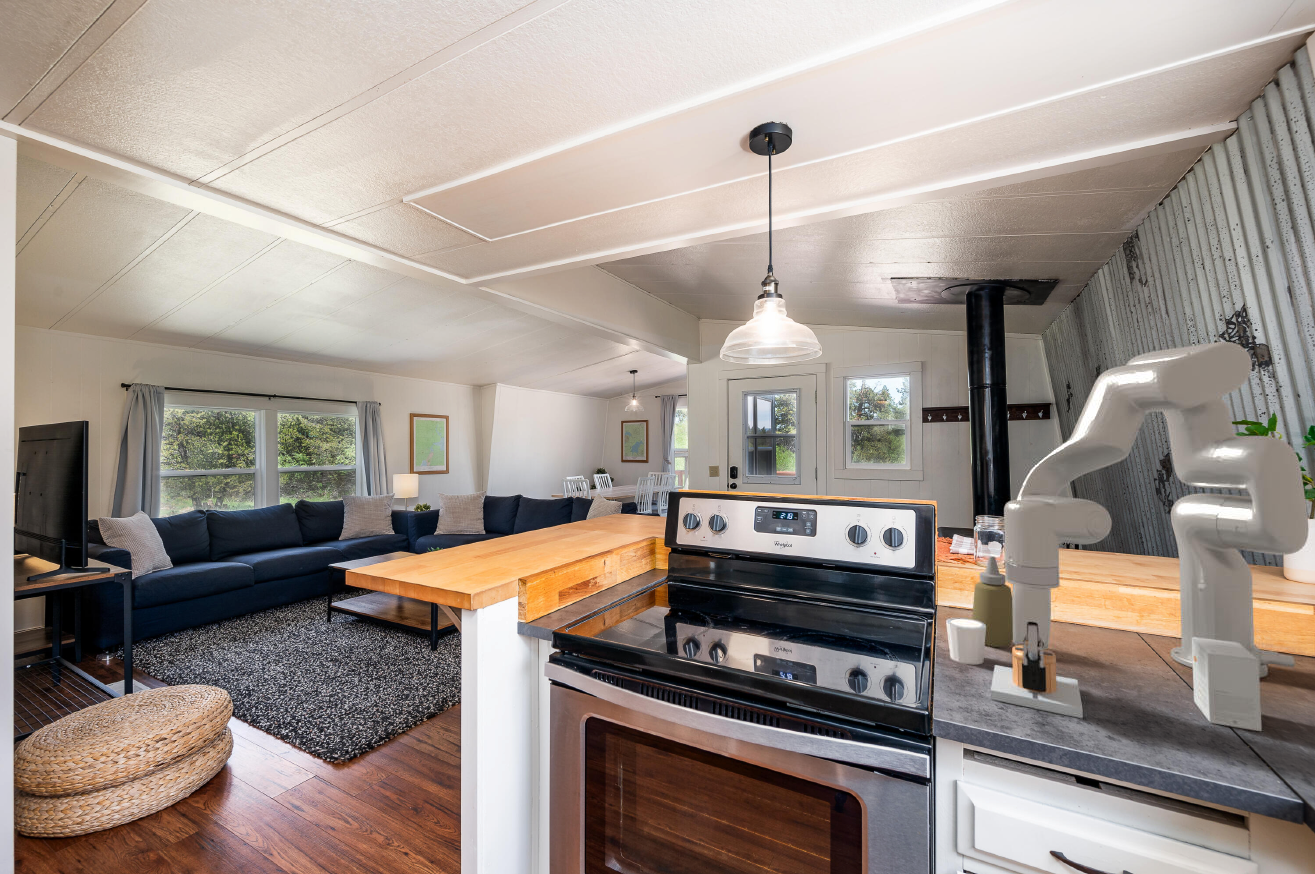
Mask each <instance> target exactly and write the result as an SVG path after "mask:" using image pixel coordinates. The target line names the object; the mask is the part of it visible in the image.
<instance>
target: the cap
mask: <svg viewBox="0 0 1315 874" xmlns="http://www.w3.org/2000/svg"><path fill="white" fill-rule="evenodd" d="M1011 650H1012V651H1011V654H1012V656H1011V657H1012V660H1011V661H1012V668H1013V683H1014V684H1016V685H1017V686H1019V687H1020V688H1023V686H1022V663H1023V644H1018V645H1015V646H1013V647H1012V649H1011ZM1027 652H1028V649H1027ZM1038 654H1039V655H1040V651H1038ZM1043 655H1044V667H1046V692H1039V691H1034V690H1029V689H1026V690H1029V691H1033V692H1038V693H1052V692H1055V691H1057V687H1056V676H1057V662H1056V661H1057V660H1056V653H1054V652H1053V651H1051V650H1049V649H1048V648H1047V649H1045V650H1044V651H1043ZM1027 664H1028V663H1027ZM1023 689H1025V688H1023Z"/></svg>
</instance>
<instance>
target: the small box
mask: <svg viewBox="0 0 1315 874" xmlns="http://www.w3.org/2000/svg"><path fill="white" fill-rule="evenodd" d="M1192 660H1193V668H1192V675H1193V676H1192V677H1193V678H1192V680H1193V681H1192V683H1193V702H1194V704H1196V705H1197V707H1198V708H1199V710H1200V711H1201V712H1202V714H1203V715H1204V716H1205V718H1206V719H1207V720H1208V722H1209V723H1210V724H1216V725H1222V726H1227V727H1232V728H1237V729H1238V728H1239V729H1245V730H1249V731H1256V732H1262V730H1263V729H1262V706H1261V705H1262V704H1261V686H1260V682H1261V681H1260V678H1259V660H1258V659H1257V658H1256V657H1255V656H1254V655H1252V654H1251V653H1250V652H1249V651H1248V650H1246V649H1245V648H1244V647H1243V646H1242V645H1241V644H1239V643H1236V642H1229V641H1220V640H1213V639H1204V638H1196V637H1192Z"/></svg>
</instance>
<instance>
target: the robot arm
mask: <svg viewBox="0 0 1315 874" xmlns="http://www.w3.org/2000/svg"><path fill="white" fill-rule="evenodd" d="M1252 367H1253V363H1252V357H1251V355H1250V354H1249V352H1248V351H1247V350H1246V349H1245V348H1244V347H1243V346H1241V345H1240V344H1238V343H1235V342H1230V341H1217V342H1211V343H1203V344H1197V345H1190V346H1184V347H1183V346H1182V347H1175V348H1174V347H1173V348H1167V349H1161V350H1156V351H1149V352H1146V353H1142V354H1139V355H1136V356H1134V357H1133V358H1131V359H1130V360H1129V361H1127V363H1126V364H1125V365H1121V366H1117V367H1116V366H1115V367H1112V368H1110V369H1107V370H1105V371H1104V372H1102V373H1101V374H1100V375H1099V376H1098V377H1097V379H1096V380H1095V382H1094V383H1093V386H1092V389H1091V391H1090V392H1089V395H1088V397H1087V399H1086V402H1085V404H1084V407H1083V409H1082V411H1081V414H1080V415H1079V418H1078V420H1077V422H1076V424H1075V426H1074V428H1073V431H1072V433H1071V435H1070V437H1069V438H1068V439H1067V440H1066V441H1065V442H1064V443H1062V444H1060V445H1058V447H1057V448H1055V449H1054V450H1053V451H1050V453H1048V455H1046V456H1045V457H1044V458H1043V459H1042V460H1041V461H1039V462H1038V463H1037V464H1036V465H1035V466H1034V467H1033V468H1032V469H1031V470H1030V471H1029V473H1028V474H1027V475H1026V477H1025V479H1024V480H1023V481H1024V482H1023V484H1022V486H1021V488H1020V490H1019V493H1018V494H1017V497H1016V499H1012V500H1009V501H1007V502H1006V503H1005V505H1004V507H1003V518H1004V521H1003V522H1004V523H1003V524H1004V525H1003V527H1004V528H1003V529H1004V560H1005V561H1004V565H1005V580H1006V583H1008V584H1011V585H1012V590H1011V593H1012V616H1013V640H1012V643H1013V644H1014V645H1015V646H1019V645H1023V663H1022V686H1023V688H1025V689H1029V690H1034V691H1039V692H1046V667H1044V655H1043V651H1044V650H1045V649H1047V650H1048V648H1049V645H1050V636H1051V634H1050V633H1051V626H1052V625H1051V624H1052V623H1051V622H1052V618H1051V617H1052V597H1051V596H1052V595H1051V594H1052V593H1051V592H1052V591H1051V589H1057V588H1060V585H1061V584H1060V546H1059V545H1060V544H1062V543H1063V544H1064V543H1065V544H1075V545H1091V544H1096V543H1098V542H1100V541H1102V540H1104V539H1105V538H1106V537H1107V536H1108V535H1109V533H1110V531H1111V529H1112V523H1113V522H1112V518H1111V515H1110V513H1109V511H1108V510H1107V509H1106V508H1105V507H1104V506H1102V505H1101V504H1099V503H1098V502H1095V501H1093V500H1088V499H1085V498H1084V499H1083V498H1077V497H1076V498H1075V497H1066V496H1058V495H1059V494H1060V493H1061V491H1062V490H1063V489H1064V488H1065V487H1066V486H1067V485H1068V484H1069V483H1071V482H1072V481H1074V480H1075V479H1077V478H1079V477H1081V476H1083V475H1085V474H1087V473H1088V474H1089V473H1091V472H1093V471H1097V470H1100V469H1102V468H1105V467H1108V466H1110V465H1111V466H1112V465H1114V464H1117V463H1119V462H1120V461H1123V460H1125V459H1126V458H1127V457H1128V456H1129V454H1130V452H1131V450H1132V449H1133V446H1134V443H1135V440H1136V438H1137V436H1138V434H1139V431H1140V430H1141V429H1140V428H1141V427H1142V424H1143V422H1144V420H1145V418H1146V415H1147V414H1149V413H1152V412H1153V413H1157V412H1162V413H1163V415H1164V417H1165V420H1166V424H1167V429H1168V435H1169V442H1170V450H1171V456H1172V461H1173V462H1172V463H1173V468H1174V470H1175V471H1174V472H1175V474H1176V476H1177V478H1178V479H1179V481H1180V482H1182V483H1183V484H1185V485H1188V486H1191V487H1198V488H1204V489H1215V490H1216V489H1218V490H1219V489H1220V490H1221V489H1222V490H1234V491H1247V492H1248V494H1249V495H1250V496H1242V495H1236V494H1235V495H1234V494H1222V493H1221V494H1219V493H1193V494H1187V495H1185V496H1182V497H1180V498H1179V499H1178V500H1176V501H1175V502H1174V504H1173V506H1172V507H1171V511H1170V522H1171V527H1172V530H1173V533H1174V536H1175V541H1176V544H1177V545H1176V546H1177V550H1178V552H1177V553H1178V561H1179V562H1178V563H1179V565H1178V566H1179V589H1180V591H1179V594H1180V595H1179V596H1180V633H1181V636H1180V637H1181V646H1176V647H1173V648H1172V649H1171V650H1170V655H1171V658H1172V659H1173V660H1174V661H1176V662H1178V663H1179V664H1181V665H1183V666H1186V667H1189V668H1192V669H1193V660H1192V637H1196V638H1204V639H1213V640H1220V641H1229V642H1236V643H1239V644H1241V645H1242V646H1243V647H1244V648H1245V649H1246V650H1248V651H1249V652H1250V653H1251V654H1252V655H1254V656H1255V657H1256V658H1257V659H1258V660H1259V679H1260V678H1263V677H1266V676H1268V672H1269V671H1268V667H1267V666H1269V664H1271V665H1278V667H1286V668H1293V669H1294V668H1295V658H1294V657H1293V656H1292V655H1287V654H1279V652H1278V651H1274V650H1273V651H1272V650H1263V649H1261V648H1259V647H1258V646H1257V645H1256V644H1255V632H1254V631H1255V630H1254V627H1255V626H1254V600H1253V599H1254V597H1253V594H1254V592H1253V591H1254V590H1253V585H1254V584H1253V575H1252V571H1251V568H1250V566H1249V564H1248V562H1247V561H1246V559H1245V558H1244V557H1243V555H1242V554H1241V553H1240V552H1239V550H1241V551H1242V550H1243V551H1249V552H1255V553H1263V554H1270V555H1277V556H1278V555H1279V556H1280V555H1282V556H1283V555H1284V556H1285V555H1292V554H1295V553H1297V552H1299V551H1301V549H1303V548H1304V546H1305V545H1306V543H1307V540H1308V537H1309V518H1308V510H1307V503H1306V495H1305V489H1304V483H1303V482H1304V481H1303V473H1302V469H1301V465H1300V460H1299V457H1298V455H1297V453H1296V452H1295V450H1294V449H1293V447H1292V446H1291V445H1290V444H1289V443H1287V442H1286V441H1284V440H1283V439H1280V438H1277V437H1273V436H1266V435H1237V434H1236V433H1235V430H1234V426H1233V422H1232V418H1231V417H1232V416H1231V412H1230V408H1229V407H1228V404H1227V403H1226V401H1225V400H1224V399H1223V398H1222V397H1223V396H1225V395H1228V394H1231V393H1232V392H1235V391H1236V390H1238V389H1240V388H1241V387H1242V386H1243V385H1244V384H1245V383H1246V382H1247V380H1248V379H1249V377H1250V376H1251V373H1252V370H1253V368H1252ZM1027 649H1028V652H1027ZM1038 651H1040V655H1039V654H1038ZM1027 663H1028V664H1027Z"/></svg>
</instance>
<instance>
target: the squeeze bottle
mask: <svg viewBox="0 0 1315 874" xmlns="http://www.w3.org/2000/svg"><path fill="white" fill-rule="evenodd" d="M986 563H987V564H986V569H985V571H982V572H980V573H979V582H977V583H975V585H974V593H973V603H972V604H973V605H972V615H971V616H972V617H971V619H972V620H976V621H980V622H982V623H984V624H985V625H986V635H985V645H986V646H988V647H993V648H1008V647H1011V645H1012V643H1013V616H1012V588H1011V587H1010V586H1009V585H1007V584H1006V583H1007V581H1006V574H1004V573H1001V572H1000V569H999V566H998V563H997V558H996V556H992V555H991V556H990V555H989V556H988V558H987V562H986Z"/></svg>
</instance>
